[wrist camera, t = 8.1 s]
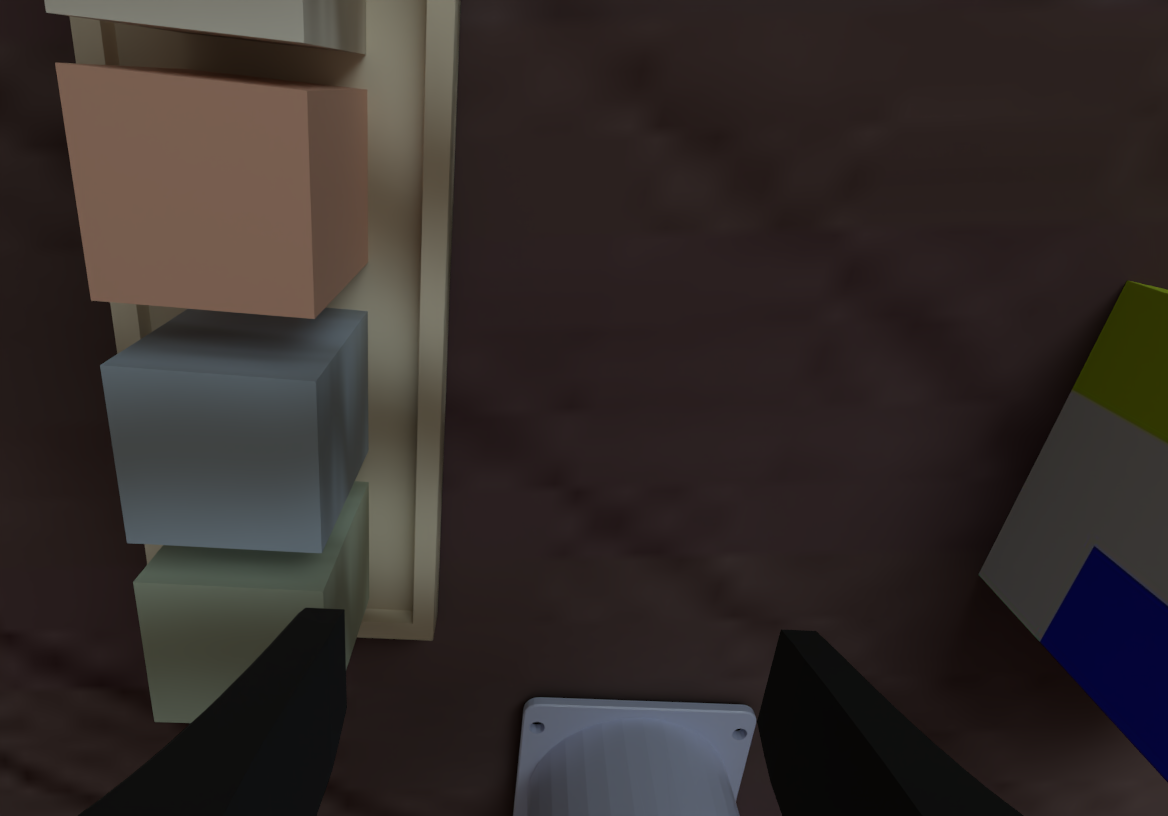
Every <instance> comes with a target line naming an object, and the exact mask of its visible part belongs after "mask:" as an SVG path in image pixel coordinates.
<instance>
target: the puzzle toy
mask: <svg viewBox="0 0 1168 816" xmlns="http://www.w3.org/2000/svg"><path fill="white" fill-rule="evenodd" d="M978 575H979V576H980V577H981V578H982V579H983V580H984V581H985V582H986V584H987V585H988V586H989V587H990V588H991V589H992V590H993V591H994V592H995V593H996V595H997V596H998V597H999V598H1000V599H1001V600H1002V601H1003V602H1004V603H1005V604H1006V606H1007V607H1008V608H1009V609H1010V610H1011V611H1012V612H1013V613H1014V614H1015V615H1016V616H1017V618H1018V619H1019V620H1020V621H1021V622H1022V623H1023V624H1024V625H1025V626H1026V627H1027V629H1028V630H1029V631H1030V632H1031V633H1032V634H1033V635H1034V636H1035V637H1036V638H1037V640H1038V641H1039V642H1040V643H1041V644H1042V645H1043V646H1044V647H1045V648H1046V649H1047V651H1048V652H1049V653H1050V654H1051V655H1052V656H1053V657H1054V658H1055V659H1056V660H1057V662H1058V663H1059V664H1060V665H1061V666H1062V667H1063V668H1064V669H1065V670H1066V671H1067V672H1068V674H1069V675H1070V676H1071V677H1072V678H1073V679H1074V680H1075V681H1076V682H1077V683H1078V685H1079V686H1080V687H1081V688H1082V689H1083V690H1084V691H1085V692H1086V693H1087V694H1088V696H1089V697H1090V698H1091V699H1092V700H1093V701H1094V702H1095V703H1096V704H1097V705H1098V707H1099V708H1100V709H1101V710H1102V711H1103V712H1104V713H1105V714H1106V715H1107V716H1108V717H1109V719H1110V720H1111V721H1112V722H1113V723H1114V724H1115V725H1116V726H1117V727H1118V728H1119V730H1120V731H1121V732H1122V733H1123V734H1124V735H1125V736H1126V737H1127V738H1128V739H1129V741H1130V742H1131V743H1132V744H1133V745H1134V746H1135V747H1136V748H1137V749H1138V750H1139V752H1140V753H1141V754H1142V755H1143V756H1144V757H1145V758H1146V759H1147V760H1148V761H1149V762H1150V764H1151V765H1152V766H1153V767H1154V768H1155V769H1156V770H1157V771H1158V772H1159V773H1160V775H1161V776H1162V777H1163V778H1164V779H1165V780H1166V781H1167V782H1168V290H1166V289H1162V288H1158V287H1153V286H1149V285H1145V284H1140V283H1136V282H1132V281H1127V282H1126V284H1125V286H1124V288H1123V290H1122V292H1121V294H1120V296H1119V298H1118V300H1117V302H1116V304H1115V306H1114V308H1113V310H1112V312H1111V313H1110V315H1109V317H1108V319H1107V321H1106V323H1105V325H1104V327H1103V329H1102V331H1101V333H1100V335H1099V337H1098V339H1097V341H1096V343H1095V345H1094V347H1093V349H1092V351H1091V353H1090V355H1089V357H1088V359H1087V361H1086V363H1085V365H1084V367H1083V369H1082V371H1081V373H1080V375H1079V377H1078V379H1077V381H1076V383H1075V385H1074V387H1073V389H1072V391H1071V393H1070V395H1069V397H1068V398H1067V400H1066V402H1065V404H1064V406H1063V408H1062V410H1061V412H1060V414H1059V416H1058V418H1057V420H1056V422H1055V424H1054V426H1053V428H1052V430H1051V432H1050V434H1049V436H1048V438H1047V440H1046V442H1045V444H1044V446H1043V448H1042V450H1041V452H1040V454H1039V456H1038V458H1037V460H1036V462H1035V464H1034V466H1033V468H1032V470H1031V472H1030V474H1029V476H1028V478H1027V480H1026V482H1025V483H1024V485H1023V487H1022V489H1021V491H1020V493H1019V495H1018V497H1017V499H1016V501H1015V503H1014V505H1013V507H1012V509H1011V511H1010V513H1009V515H1008V517H1007V519H1006V521H1005V523H1004V525H1003V527H1002V529H1001V531H1000V533H999V535H998V537H997V539H996V541H995V543H994V545H993V547H992V549H991V551H990V553H989V555H988V557H987V559H986V561H985V563H984V565H983V567H982V568H981V570H980V572H979V574H978Z"/></svg>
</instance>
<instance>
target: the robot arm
mask: <svg viewBox="0 0 1168 816" xmlns="http://www.w3.org/2000/svg"><path fill="white" fill-rule="evenodd" d="M346 708H347V700H346V653H345V609H325V608H304V609H303V610H302V611H301V612H299V613H298V614H297V615H296V616H295V618H294V619H293V620H292V621H291V622H290V623H289V624H288V625H287V626H286V628H285V629H284V630H283V631H282V632H281V633H280V634H279V635H278V636H277V637H276V639H275V640H274V641H273V642H272V643H271V644H270V645H269V646H268V647H267V648H266V649H265V650H264V651H263V653H262V654H261V655H260V656H259V657H258V658H257V659H256V660H255V661H254V662H253V663H252V664H251V665H250V666H249V667H248V668H247V669H246V670H245V671H244V672H243V673H242V674H241V675H240V676H239V677H238V678H237V679H236V680H235V681H234V682H233V683H232V684H231V685H230V686H229V687H228V688H227V689H226V690H225V691H224V692H223V693H222V694H221V695H220V696H219V697H218V698H217V699H216V700H215V701H214V702H213V703H212V704H211V705H210V706H209V707H208V708H207V709H206V710H205V711H204V712H203V713H201V714H200V715H199V716H198V717H197V718H196V719H195V720H194V721H193V722H192V723H190V724H189V725H188V726H187V727H186V728H185V729H184V730H183V731H182V732H181V733H179V734H178V735H177V736H176V737H175V738H174V739H173V740H172V741H171V742H170V743H168V744H167V745H166V746H165V747H164V748H163V749H162V750H160V751H159V752H158V753H157V754H156V755H155V756H153V757H152V758H151V759H150V760H149V761H147V762H146V763H145V764H144V765H143V766H141V767H140V768H139V769H138V770H137V771H135V772H134V773H133V774H132V775H130V776H129V777H128V778H127V779H125V780H124V781H123V782H122V783H120V784H119V785H118V786H116V787H115V788H114V789H113V790H111V791H110V792H109V793H108V794H106V795H105V796H104V797H102V798H101V799H100V800H98V801H97V802H96V803H94V804H93V805H92V806H90V807H89V808H88V809H86V810H85V811H83V812H82V813H81V814H79V815H78V816H316V815H317V812H318V809H319V807H320V804H321V801H322V798H323V795H324V792H325V789H326V787H327V784H328V781H329V778H330V775H331V772H332V769H333V764H334V760H335V756H336V752H337V748H338V744H339V739H340V735H341V731H342V726H343V722H344V717H345V713H346ZM534 722H541V724H537V725H536V724H532V723H534ZM757 723H758V728H759V732H760V737H761V742H762V747H763V751H764V756H765V760H766V764H767V769H768V773H769V777H770V781H771V784H772V787H773V790H774V793H775V796H776V799H777V802H778V804H779V807H780V810H781V813H782V816H1023V815H1022V814H1021V813H1019V812H1018V811H1017V810H1015V809H1014V808H1013V807H1011V806H1010V805H1009V804H1007V803H1006V802H1005V801H1003V800H1002V799H1001V798H999V797H998V796H997V795H996V794H994V793H993V792H992V791H990V790H989V789H988V788H987V787H985V786H984V785H983V784H982V783H980V782H979V781H978V780H977V779H975V778H974V777H973V776H972V775H970V774H969V773H968V772H967V771H966V770H965V769H963V768H962V767H961V766H960V765H959V764H958V763H956V762H955V761H954V760H953V759H952V758H951V757H949V756H948V755H947V754H946V753H945V752H944V751H942V750H941V749H940V748H939V747H938V746H937V745H935V744H934V743H933V742H932V741H931V740H930V739H929V738H928V737H927V736H925V735H924V734H923V733H922V732H921V731H920V730H919V729H918V728H917V727H915V726H914V725H913V724H912V723H911V722H910V721H909V720H908V719H907V718H906V717H905V716H904V715H903V714H901V713H900V712H899V711H898V710H897V709H896V708H895V707H894V706H893V705H892V704H891V703H890V702H889V701H888V700H887V699H886V698H885V697H884V696H883V695H881V694H880V693H879V692H878V691H877V690H876V689H875V688H874V687H873V686H872V685H871V684H870V683H869V682H868V681H867V680H866V679H865V678H864V677H863V676H862V675H861V674H860V673H859V672H858V671H857V670H856V669H855V668H854V667H853V666H852V665H851V664H850V663H849V662H848V661H847V660H846V659H845V658H844V657H843V656H842V655H841V654H840V653H838V652H837V651H836V650H835V649H834V648H833V647H832V646H831V645H830V644H829V643H828V642H827V641H826V640H825V639H824V638H823V637H822V636H820V635H819V634H818V633H817V632H816V631H799V630H781V632H780V635H779V639H778V643H777V647H776V651H775V655H774V659H773V662H772V666H771V670H770V674H769V678H768V682H767V686H766V690H765V693H764V697H763V701H762V705H761V709H760V713H759V717H758V720H757ZM755 725H756V717H755V714H754V711H753V710H752V708H751V707H749V706H747V705H741V704H714V703H686V702H658V701H631V700H603V699H575V698H548V697H537V698H532V699H530V700H528V701H527V702H526V703H525V705H524V708H523V717H522V728H521V738H520V748H519V758H518V768H517V779H516V789H515V799H514V809H513V816H739V812H738V809H737V805H736V799H737V795H738V791H739V787H740V783H741V779H742V775H743V772H744V768H745V764H746V760H747V756H748V752H749V748H750V744H751V741H752V737H753V733H754V729H755ZM736 729H741V730H739V731H735V730H736Z"/></svg>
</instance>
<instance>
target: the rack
mask: <svg viewBox="0 0 1168 816" xmlns="http://www.w3.org/2000/svg"><path fill="white" fill-rule="evenodd" d="M44 1H45V8H46V13H53V14H60V15H66V16H70V23H71V30H72V37H73V45H74V52H75V59H76V64H95V65H116V66H136V67H156V68H177V69H191V70H199V71H208V72H217V73H226V74H235V75H244V76H252V77H261V78H270V79H279V80H288V81H297V82H305V83H314V84H323V85H332V86H341V87H349V88H358V89H367V112H368V263H367V264H366V265H365V266H364V267H363V268H362V269H361V270H360V271H359V272H358V274H357V275H356V276H355V277H354V278H353V279H352V280H351V281H350V282H349V283H348V284H347V285H346V286H345V287H344V288H343V289H342V291H341V292H340V293H339V294H338V295H337V296H336V297H335V298H334V299H333V300H332V301H331V302H330V303H329V304H328V305H327V306H326V308H325V309H324V310H323V311H322V312H321V313H320V314H319V315H318V316H317V317H316V318H315V319H307V318H295V317H283V316H271V315H259V314H247V313H235V312H223V311H211V310H199V309H187V308H175V307H163V306H151V305H139V304H127V303H115V302H110V305H111V312H112V319H113V326H114V333H115V340H116V347H117V355H115V356H114V357H112V358H111V359H109V360H107V361H106V362H104V363H103V364H101V365H100V368H101V375H102V381H103V388H104V394H105V401H106V408H107V414H108V421H109V427H110V434H111V440H112V447H113V453H114V460H115V467H116V473H117V480H118V486H119V493H120V499H121V506H122V512H123V519H124V526H125V532H126V539H127V543H134V544H145V551H146V558H147V566H146V567H145V568H144V569H143V571H142V572H141V573H140V574H139V576H138V577H137V578H136V579H135V581H134V582H133V585H134V591H135V598H136V604H137V611H138V617H139V624H140V631H141V637H142V644H143V650H144V657H145V663H146V670H147V676H148V683H149V690H150V696H151V703H152V709H153V716H154V722H173V723H192V722H193V721H194V720H195V719H196V718H197V717H198V716H199V715H200V714H201V713H203V712H204V711H205V710H206V709H207V708H208V707H209V706H210V705H211V704H212V703H213V702H214V701H215V700H216V699H217V698H218V697H219V696H220V695H221V694H222V693H223V692H224V691H225V690H226V689H227V688H228V687H229V686H230V685H231V684H232V683H233V682H234V681H235V680H236V679H237V678H238V677H239V676H240V675H241V674H242V673H243V672H244V671H245V670H246V669H247V668H248V667H249V666H250V665H251V664H252V663H253V662H254V661H255V660H256V659H257V658H258V657H259V656H260V655H261V654H262V653H263V651H264V650H265V649H266V648H267V647H268V646H269V645H270V644H271V643H272V642H273V641H274V640H275V639H276V637H277V636H278V635H279V634H280V633H281V632H282V631H283V630H284V629H285V628H286V626H287V625H288V624H289V623H290V622H291V621H292V620H293V619H294V618H295V616H296V615H297V614H298V613H299V612H301V611H302V610H303V609H304V608H325V609H345V653H346V669H347V666H348V663H349V660H350V657H351V654H352V650H353V647H354V644H355V641H356V638H357V637H361V638H384V639H408V640H431V641H433V637H434V631H435V626H436V620H437V613H438V587H439V560H440V534H441V507H442V481H443V454H444V428H445V401H446V375H447V348H448V322H449V295H450V269H451V242H452V216H453V189H454V163H455V136H456V110H457V83H458V57H459V30H460V4H461V0H44Z"/></svg>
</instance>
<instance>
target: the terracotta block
mask: <svg viewBox="0 0 1168 816" xmlns="http://www.w3.org/2000/svg"><path fill="white" fill-rule="evenodd" d="M55 65H56V72H57V79H58V85H59V92H60V98H61V105H62V112H63V118H64V125H65V131H66V138H67V145H68V151H69V158H70V164H71V171H72V178H73V184H74V191H75V197H76V204H77V211H78V217H79V224H80V230H81V237H82V244H83V250H84V257H85V263H86V270H87V277H88V283H89V290H90V296H91V301H103V302H115V303H127V304H139V305H151V306H163V307H175V308H187V309H199V310H211V311H223V312H235V313H247V314H259V315H271V316H283V317H295V318H307V319H315V318H316V317H317V316H318V315H319V314H320V313H321V312H322V311H323V310H324V309H325V308H326V306H327V305H328V304H329V303H330V302H331V301H332V300H333V299H334V298H335V297H336V296H337V295H338V294H339V293H340V292H341V291H342V289H343V288H344V287H345V286H346V285H347V284H348V283H349V282H350V281H351V280H352V279H353V278H354V277H355V276H356V275H357V274H358V272H359V271H360V270H361V269H362V268H363V267H364V266H365V265H366V264H367V263H368V112H367V89H358V88H349V87H341V86H332V85H323V84H314V83H305V82H297V81H288V80H279V79H270V78H261V77H252V76H244V75H235V74H226V73H217V72H208V71H199V70H191V69H177V68H156V67H136V66H116V65H95V64H75V63H55Z"/></svg>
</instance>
